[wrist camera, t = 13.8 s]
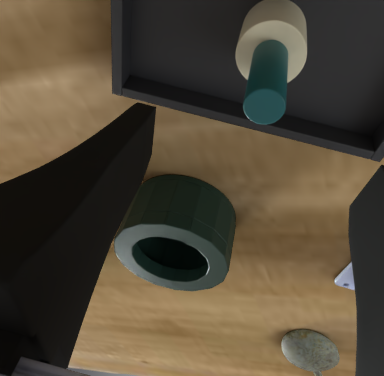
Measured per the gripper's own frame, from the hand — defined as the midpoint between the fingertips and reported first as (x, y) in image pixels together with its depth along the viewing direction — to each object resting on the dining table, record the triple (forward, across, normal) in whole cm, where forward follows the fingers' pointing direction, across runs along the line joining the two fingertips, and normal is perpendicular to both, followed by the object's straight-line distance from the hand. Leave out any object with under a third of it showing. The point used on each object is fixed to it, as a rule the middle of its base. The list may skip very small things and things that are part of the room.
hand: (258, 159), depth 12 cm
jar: (+10, +2, +17) cm, 20 cm away
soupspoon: (+11, -20, +42) cm, 47 cm away
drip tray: (+10, 0, 0) cm, 10 cm away
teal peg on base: (+10, 0, 0) cm, 10 cm away
